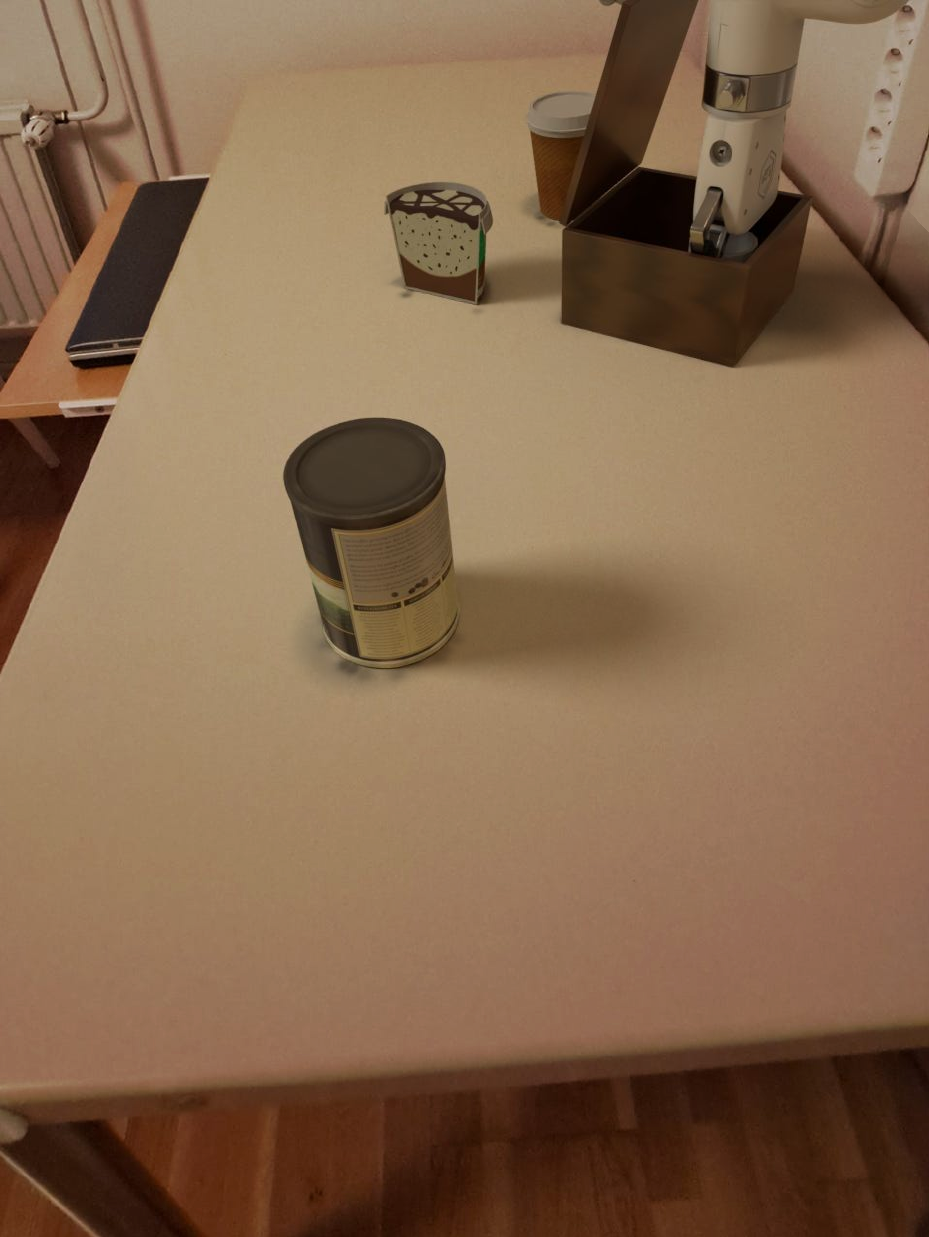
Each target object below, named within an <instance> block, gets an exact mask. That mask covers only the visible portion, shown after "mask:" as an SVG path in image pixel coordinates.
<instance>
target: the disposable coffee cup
mask: <svg viewBox="0 0 929 1237" xmlns="http://www.w3.org/2000/svg"><path fill="white" fill-rule="evenodd" d="M595 96H596V93H593V92H589V91H581V90H564V91H563V90H562V91H555V92H549V93H545V94H543V95H540V96H538V97H536V98H534V99H533V100H531V102H530V103H529V107H528V112H527V113H526V115H525V123H526V124H527V127H528V130H529V132H530V140H531V142H530V143H531V149H532V156H533V164H534V172H535V179H536V185H537V186H536V187H537V195H538V202H539V212H540V213H541V214H542V215H543V216H544V217H546V218H548V219H553V220H557V221H560V217H561V214H562V210H563V207H564V203H565V200H566V196H567V193H568V189H569V186H570V183H571V179H572V176H573V172H574V169H575V165H576V162H577V158H578V155H579V151H580V148H581V145H582V141H583V138H584V134H585V131H586V127H587V124H588V120H589V117H590V113H591V110H592V107H593V103H594V100H595ZM592 205H593V204H592ZM592 205H591V206H592ZM588 208H589V207H588ZM588 208H587V209H588ZM587 209H586V210H587ZM586 210H585V211H586ZM582 213H583V212H582ZM582 213H581V214H582ZM581 214H580V215H581ZM580 215H579V216H580ZM576 218H577V217H576ZM576 218H575V219H576ZM575 219H574V220H575Z"/></svg>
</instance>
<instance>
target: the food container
mask: <svg viewBox="0 0 929 1237" xmlns="http://www.w3.org/2000/svg"><path fill="white" fill-rule="evenodd" d="M385 199H386V200H385V201H384V208H383V209H384V211H383V212H384V214H383V215H384V216H386V215H388V216H389V220H390V224H391V225H390V226H391V230H392V236H393V240H394V246H395V249H396V254H397V260H398V264H399V269H400V274H401V278H402V283H403V288H404V289H406V290H410V291H414V292H418V293H424V294H428V295H432V296H437V297H440V298H445V299H449V300H453V301H457V302H463V303H467V304H471V305H476V306H478V305H479V303H481V302H482V300H483V297H484V294H485V277H486V276H485V275H486V274H485V272H486V253H487V252H486V251H487V250H486V249H487V233H488V232H489V231H490V230H491V228H492V227H493V224H494V218H493V213H492V209H491V205H490V203H489V201H488V199H487V197H486V195H485V193H483V191H481V190H479V188H476V187H474V186H471V185H469V184H465V183H461V182H453V181H427V182H422V183H415V184H412V185H408V186H404V187H401V188H398V189H396V190H394V191H391V192H390V193H389V194H387V195H385Z"/></svg>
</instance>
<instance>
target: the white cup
mask: <svg viewBox="0 0 929 1237" xmlns="http://www.w3.org/2000/svg"><path fill="white" fill-rule="evenodd" d="M709 235H710V236H709V240H712V241H713V243H714V245H715V247H716V246H717V243H718V240H719V237H720V235H716V234H711V233H709ZM690 242H691V237H690V239H689V248H688V252H690V251H691V250H690ZM757 248H758V239H757V238H756V237H755V236H754V235H753V234H752V233H751V232H748V231H747V232H746V233H745V234H743V235H742V236H740V237H737V236H735V235H734V234H731V233H730V236H729V239H728V242H727V245H726V248H725V251H724V254H723V257H722V259H723V260H728V261H733V262H738V263H743V264H744V263H745V262H746V261H747V260H748V259H749V257H750V256H751V255H752V254H753V253H754V252H755V251H756V250H757Z"/></svg>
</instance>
